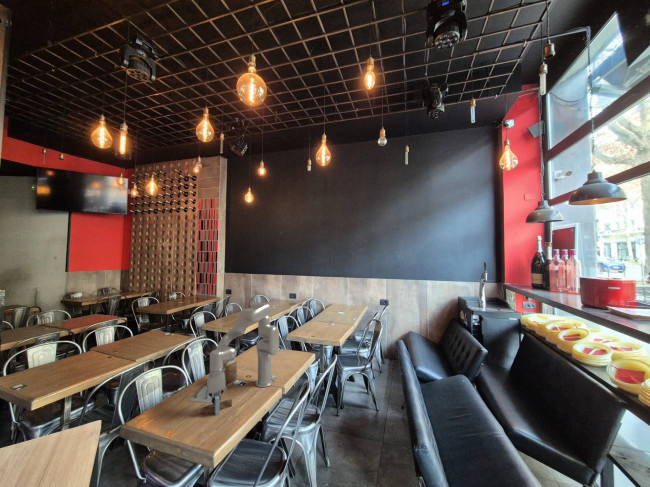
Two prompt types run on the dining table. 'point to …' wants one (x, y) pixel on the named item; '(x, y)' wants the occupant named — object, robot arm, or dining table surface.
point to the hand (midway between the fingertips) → (216, 402)
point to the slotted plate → (217, 403)
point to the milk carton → (230, 371)
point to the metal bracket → (201, 396)
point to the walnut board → (211, 409)
